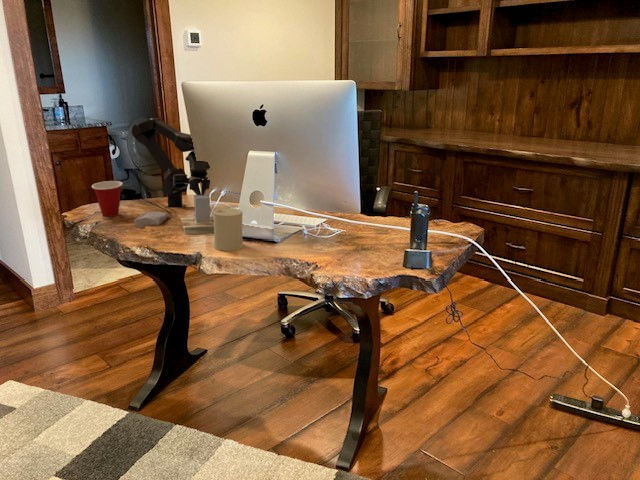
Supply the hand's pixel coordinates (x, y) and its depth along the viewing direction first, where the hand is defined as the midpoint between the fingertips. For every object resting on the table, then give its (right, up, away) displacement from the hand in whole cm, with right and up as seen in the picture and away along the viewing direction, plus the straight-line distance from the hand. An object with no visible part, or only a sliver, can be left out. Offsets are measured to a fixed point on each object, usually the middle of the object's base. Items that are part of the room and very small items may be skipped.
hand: (201, 200), depth 190 cm
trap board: (+2, -10, -5) cm, 12 cm away
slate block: (0, -8, 0) cm, 8 cm away
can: (+14, -17, -24) cm, 32 cm away
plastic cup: (-37, -5, +7) cm, 38 cm away
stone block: (-18, -9, -2) cm, 20 cm away
